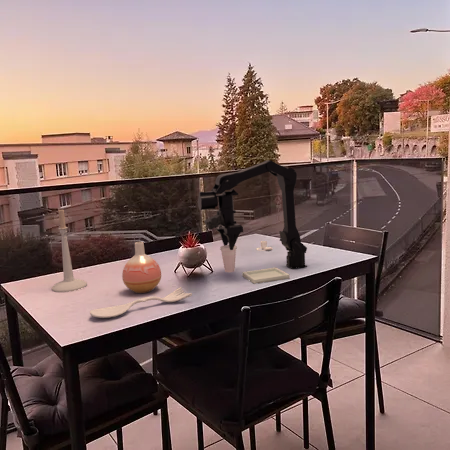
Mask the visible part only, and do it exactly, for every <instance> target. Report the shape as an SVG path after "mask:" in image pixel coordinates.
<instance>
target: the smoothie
mask: <svg viewBox="0 0 450 450" xmlns="http://www.w3.org/2000/svg"><path fill="white" fill-rule="evenodd" d="M237 248H238V247H237V246H236V245H235V246H234V248H233V250H230V248H229V244H228V245H225V246H224V245H221V246H220V248H219V250H220V252H221V256H222V263H223V268H224V272H225V273H234V272H235V269H236V255H237Z"/></svg>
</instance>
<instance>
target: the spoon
mask: <svg viewBox="0 0 450 450" xmlns="http://www.w3.org/2000/svg"><path fill="white" fill-rule="evenodd" d="M192 296H193V293H192V292H190V293H188V292H185V290H183V287H181V286H180V287H179V288H177V289H175V290H173V292H171V293H169V294H168V295H167V294H166V296H164V297H159V296H155V295H154V296H153V295H152V296H148V297H141V298H138V299H135V300H134V301H130V302H128V303H124V304H118V305H113V306H109V307H101V308H95V309H91V310H90V311H89V314H90V316H91V317H93V318H101V319H110V318H115V317H119V316H121V315H122V314H124V313H126V312H127V311H128V310H129V309H130V308H131V307H133V306H134V305H137V304H139V303H146V302H149V301H160V302H164V303H175V302H178V301H181V300H184V299H187V298H190V297H192Z"/></svg>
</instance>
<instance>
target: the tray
mask: <svg viewBox="0 0 450 450" xmlns="http://www.w3.org/2000/svg"><path fill="white" fill-rule="evenodd" d="M241 274H242V277H243V278H245V279H246V280H247V281H249V280H250V281H249V282H250V283H252V284H254V285H257V284H256V283H258V284H262V283H263V282H264V283H270V282H277V281H281V280H288V279H291V275H290V274H289V273H287V272H285V271H284V270H282V269H280V268H277V267H270V268H263V269H256V270H248V271H243V272H241Z"/></svg>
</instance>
